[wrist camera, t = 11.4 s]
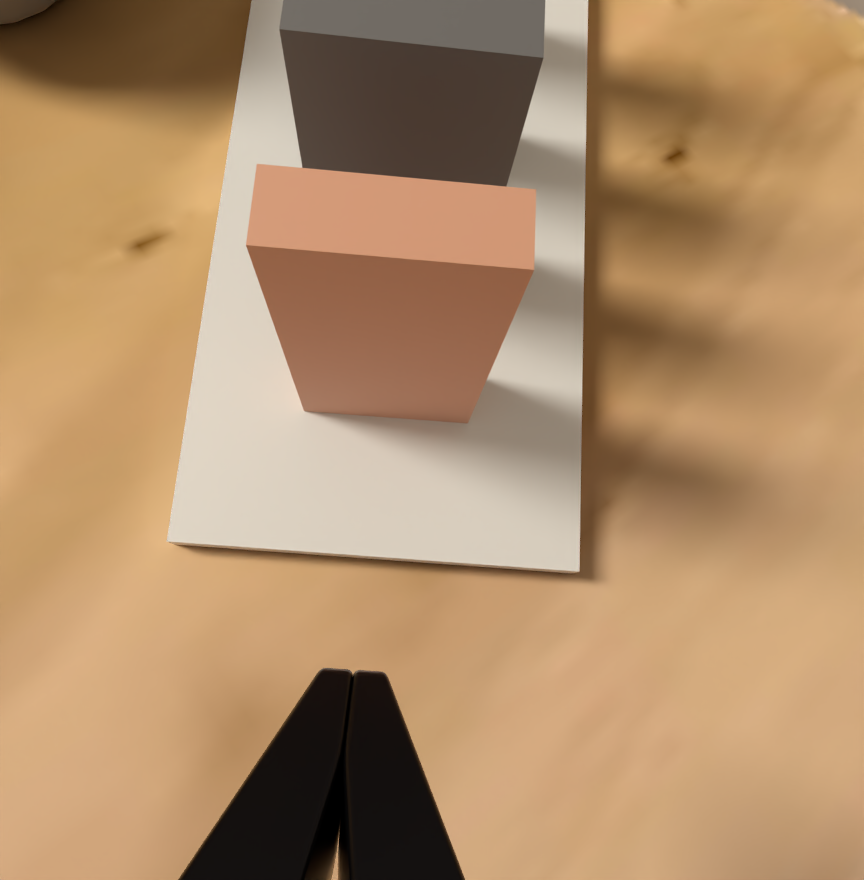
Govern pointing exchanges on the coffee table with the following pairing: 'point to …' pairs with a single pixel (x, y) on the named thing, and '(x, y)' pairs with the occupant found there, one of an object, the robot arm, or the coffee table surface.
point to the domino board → (381, 438)
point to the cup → (21, 9)
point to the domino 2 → (389, 286)
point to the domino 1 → (412, 84)
